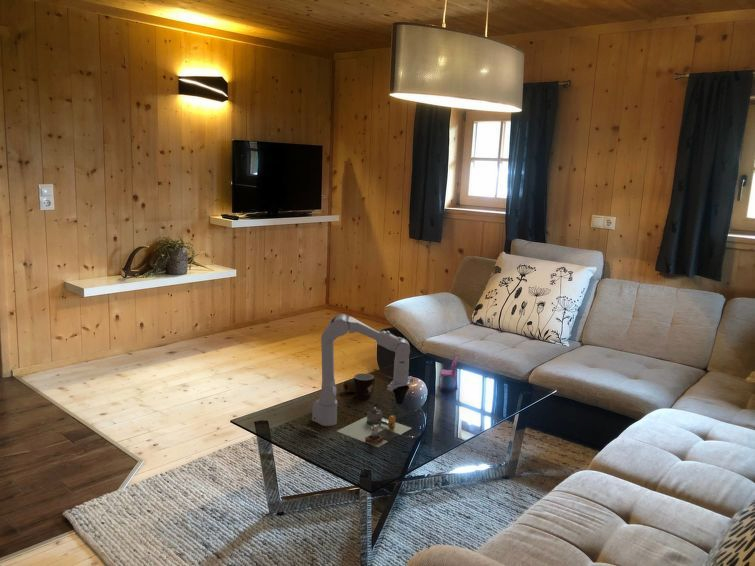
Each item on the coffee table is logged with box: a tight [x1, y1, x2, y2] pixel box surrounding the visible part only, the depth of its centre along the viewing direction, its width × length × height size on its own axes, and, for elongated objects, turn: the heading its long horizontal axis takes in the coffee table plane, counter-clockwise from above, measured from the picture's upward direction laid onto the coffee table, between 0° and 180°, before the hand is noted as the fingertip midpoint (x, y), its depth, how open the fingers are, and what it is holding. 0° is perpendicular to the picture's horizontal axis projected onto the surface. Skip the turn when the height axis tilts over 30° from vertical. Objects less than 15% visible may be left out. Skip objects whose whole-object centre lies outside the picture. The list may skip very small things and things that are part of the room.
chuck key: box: [371, 425, 379, 440], centre depth 226 cm, size 2×4×6 cm, turn 143°
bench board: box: [336, 416, 413, 448], centre depth 237 cm, size 20×22×1 cm
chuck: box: [366, 406, 383, 426], centre depth 242 cm, size 6×6×6 cm
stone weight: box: [342, 377, 376, 394], centre depth 279 cm, size 15×7×7 cm, turn 131°
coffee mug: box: [353, 372, 375, 400], centre depth 270 cm, size 12×9×10 cm
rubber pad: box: [378, 429, 401, 442], centre depth 232 cm, size 7×7×1 cm
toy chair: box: [438, 356, 459, 391], centre depth 287 cm, size 8×9×15 cm
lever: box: [381, 414, 396, 429], centre depth 239 cm, size 6×3×4 cm, turn 53°
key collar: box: [365, 435, 384, 445], centre depth 227 cm, size 5×5×2 cm
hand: (399, 403), depth 240 cm, fingers closed
